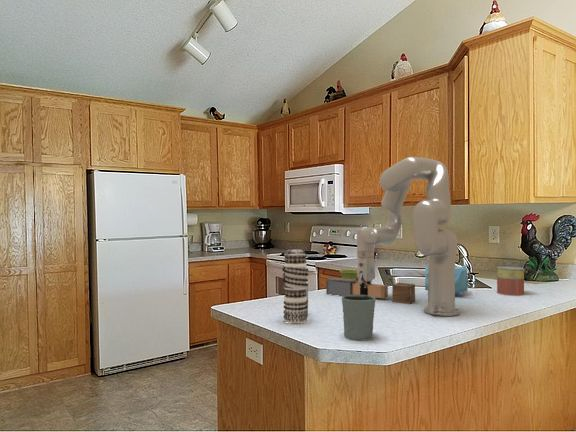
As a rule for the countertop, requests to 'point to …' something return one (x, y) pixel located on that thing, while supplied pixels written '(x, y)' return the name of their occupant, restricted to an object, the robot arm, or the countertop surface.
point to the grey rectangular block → (339, 286)
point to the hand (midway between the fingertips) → (365, 295)
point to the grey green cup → (358, 316)
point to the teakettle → (460, 280)
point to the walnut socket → (403, 293)
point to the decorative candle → (295, 286)
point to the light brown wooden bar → (371, 290)
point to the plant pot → (349, 274)
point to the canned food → (510, 281)
